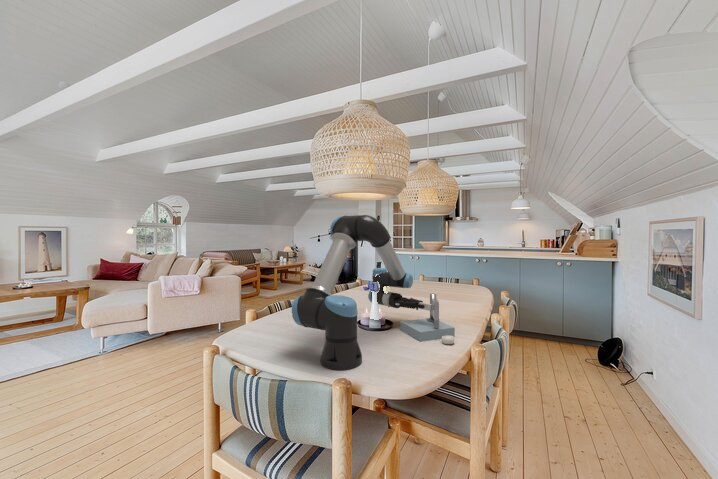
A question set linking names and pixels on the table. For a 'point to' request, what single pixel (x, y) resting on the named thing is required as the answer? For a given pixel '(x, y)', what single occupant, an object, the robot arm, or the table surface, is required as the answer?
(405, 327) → the blue-grey square base
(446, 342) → the cover cap
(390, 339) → the table surface
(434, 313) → the grey upright panel
